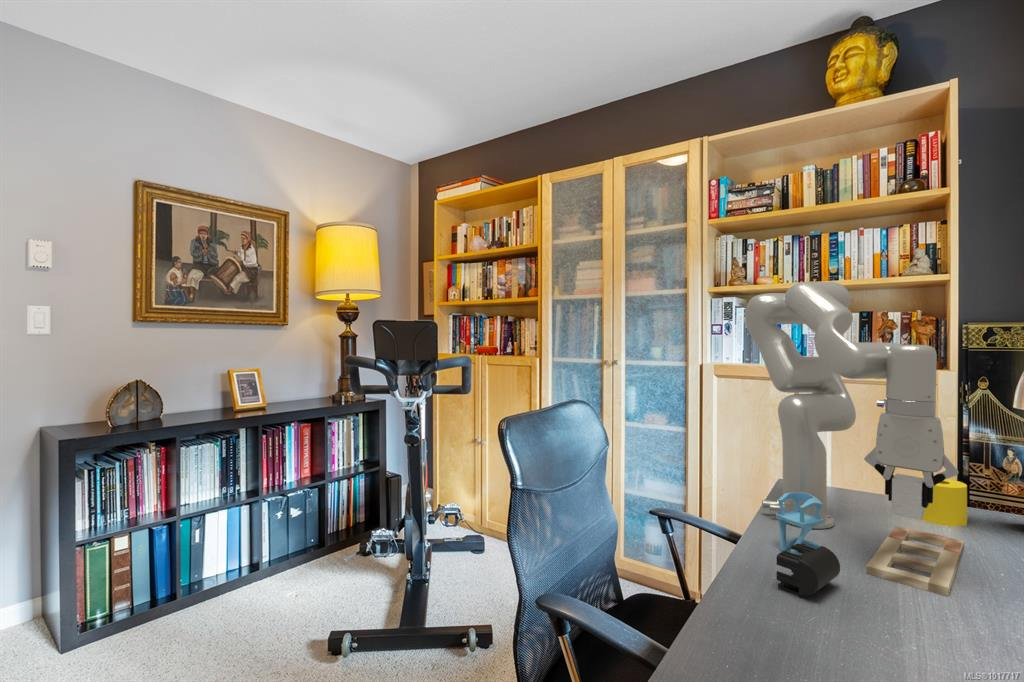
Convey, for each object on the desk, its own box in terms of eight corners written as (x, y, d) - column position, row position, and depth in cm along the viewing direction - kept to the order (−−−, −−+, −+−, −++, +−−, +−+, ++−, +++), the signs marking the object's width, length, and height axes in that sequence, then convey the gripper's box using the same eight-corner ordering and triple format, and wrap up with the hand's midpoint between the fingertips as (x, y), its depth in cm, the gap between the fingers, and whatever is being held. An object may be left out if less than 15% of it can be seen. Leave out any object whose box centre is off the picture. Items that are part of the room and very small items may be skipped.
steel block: (891, 513, 97) (892, 478, 97) (895, 508, 100) (896, 473, 100) (921, 520, 94) (921, 483, 94) (924, 514, 97) (925, 478, 97)
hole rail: (866, 573, 97) (866, 565, 97) (895, 532, 117) (895, 525, 117) (948, 596, 88) (948, 587, 88) (963, 547, 109) (963, 540, 109)
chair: (770, 546, 110) (769, 491, 110) (796, 540, 113) (796, 487, 113) (802, 560, 103) (802, 502, 103) (829, 553, 106) (829, 496, 106)
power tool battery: (817, 605, 86) (817, 566, 86) (775, 589, 91) (775, 552, 91) (840, 587, 92) (840, 550, 92) (799, 573, 97) (799, 538, 97)
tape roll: (962, 517, 128) (962, 480, 128) (971, 529, 119) (971, 490, 119) (912, 509, 133) (912, 474, 133) (917, 521, 125) (917, 483, 125)
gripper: (853, 405, 100) (852, 496, 101) (967, 416, 88) (965, 519, 88) (862, 402, 105) (860, 488, 106) (971, 411, 93) (968, 509, 94)
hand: (908, 501), depth 97 cm, fingers closed on steel block, 4 cm apart
